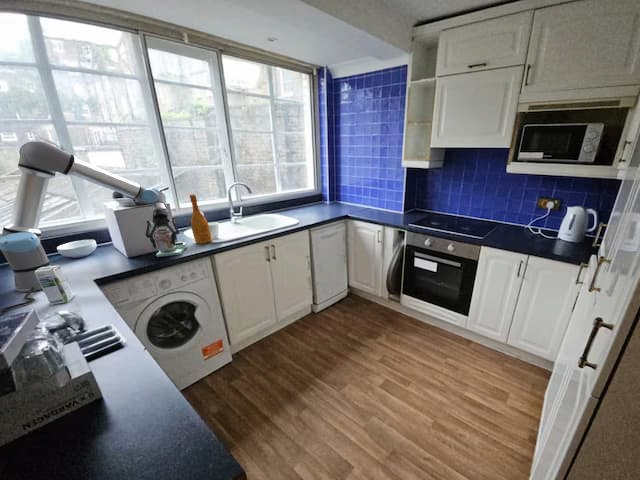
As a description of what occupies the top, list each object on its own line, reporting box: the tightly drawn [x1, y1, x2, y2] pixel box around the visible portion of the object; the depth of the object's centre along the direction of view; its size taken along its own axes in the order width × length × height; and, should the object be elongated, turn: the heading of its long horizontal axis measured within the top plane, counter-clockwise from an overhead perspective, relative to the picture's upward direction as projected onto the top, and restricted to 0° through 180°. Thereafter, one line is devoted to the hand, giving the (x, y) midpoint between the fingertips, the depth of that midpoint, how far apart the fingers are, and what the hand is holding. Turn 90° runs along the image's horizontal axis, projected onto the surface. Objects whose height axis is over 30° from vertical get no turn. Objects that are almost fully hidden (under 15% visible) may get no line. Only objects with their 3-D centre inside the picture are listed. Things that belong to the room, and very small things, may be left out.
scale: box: [155, 242, 187, 258], centre depth 172 cm, size 14×13×3 cm
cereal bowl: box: [56, 239, 98, 259], centre depth 168 cm, size 17×17×7 cm
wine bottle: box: [189, 194, 213, 245], centre depth 182 cm, size 10×10×30 cm
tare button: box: [175, 240, 184, 246], centre depth 175 cm, size 4×4×2 cm
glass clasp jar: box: [153, 228, 176, 253], centre depth 167 cm, size 9×8×12 cm
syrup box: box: [34, 264, 74, 306], centre depth 116 cm, size 6×6×14 cm
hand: (164, 245), depth 165 cm, fingers closed on glass clasp jar, 9 cm apart
